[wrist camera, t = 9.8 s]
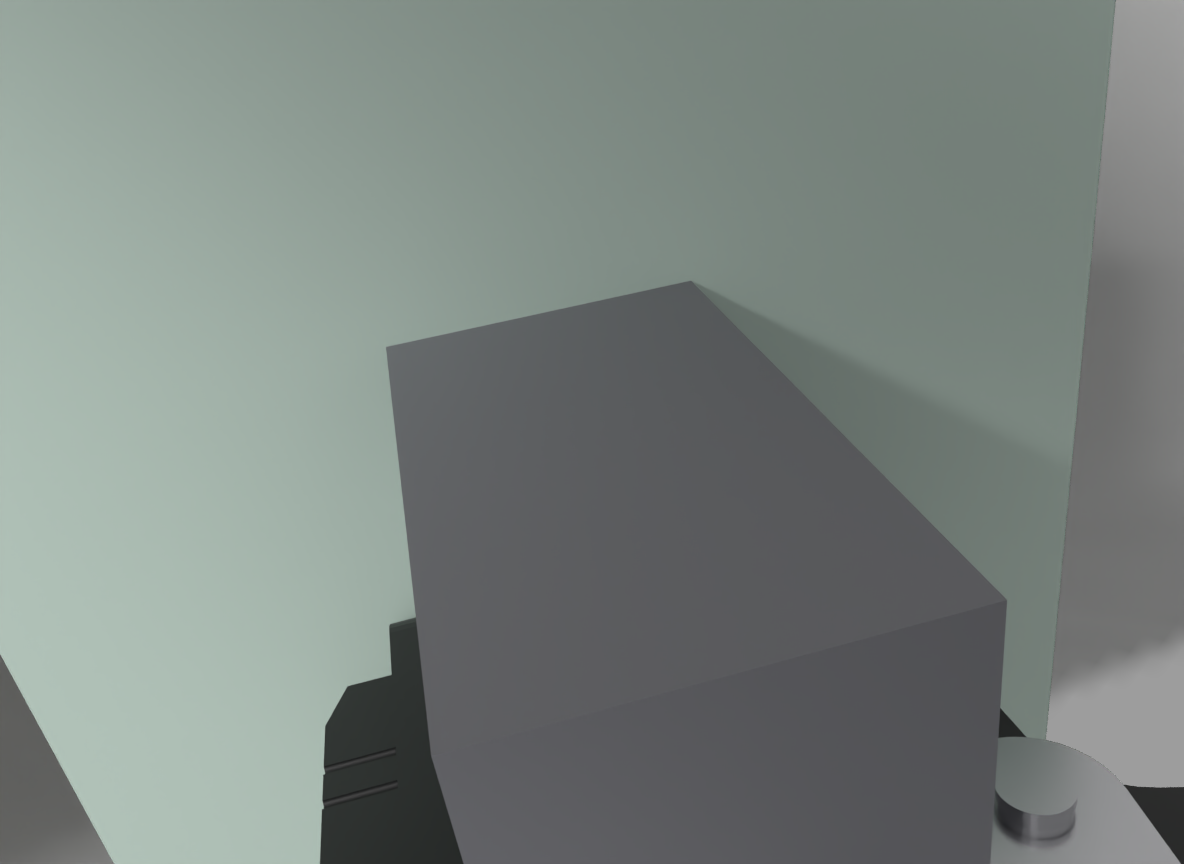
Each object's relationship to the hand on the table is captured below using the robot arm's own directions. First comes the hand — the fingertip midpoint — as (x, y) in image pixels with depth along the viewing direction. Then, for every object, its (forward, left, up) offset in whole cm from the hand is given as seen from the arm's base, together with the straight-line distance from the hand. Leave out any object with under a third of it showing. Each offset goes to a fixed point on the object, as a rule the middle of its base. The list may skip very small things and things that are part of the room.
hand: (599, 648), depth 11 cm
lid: (0, 0, -2) cm, 2 cm away
